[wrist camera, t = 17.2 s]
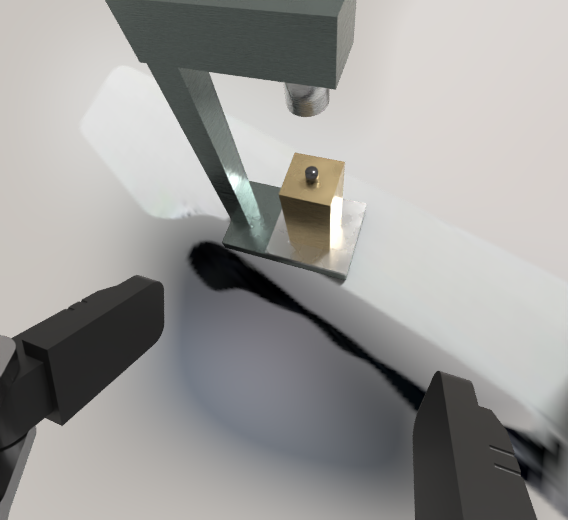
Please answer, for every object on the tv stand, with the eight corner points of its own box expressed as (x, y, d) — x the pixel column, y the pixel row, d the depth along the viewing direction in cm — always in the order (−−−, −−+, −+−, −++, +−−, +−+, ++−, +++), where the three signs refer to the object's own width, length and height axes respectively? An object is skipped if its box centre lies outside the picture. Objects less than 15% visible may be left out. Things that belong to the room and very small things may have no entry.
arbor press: (371, 188, 44) (432, -104, 19) (345, 280, 40) (377, 64, 14) (260, 165, 48) (182, -104, 22) (225, 247, 43) (76, 29, 18)
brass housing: (341, 215, 41) (345, 154, 31) (330, 251, 39) (330, 199, 29) (302, 206, 42) (294, 145, 32) (289, 240, 40) (277, 188, 30)
